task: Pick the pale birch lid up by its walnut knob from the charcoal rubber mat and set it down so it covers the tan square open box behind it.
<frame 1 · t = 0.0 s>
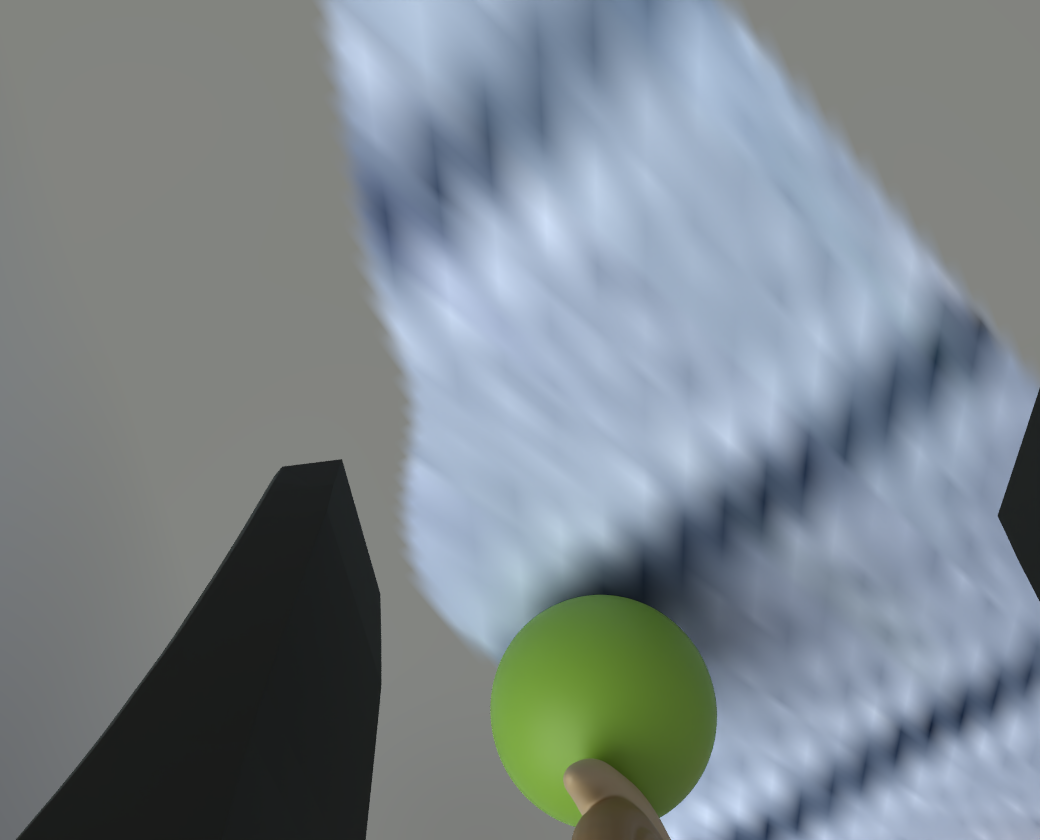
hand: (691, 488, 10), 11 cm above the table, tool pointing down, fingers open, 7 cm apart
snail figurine: (595, 639, 25), on the table
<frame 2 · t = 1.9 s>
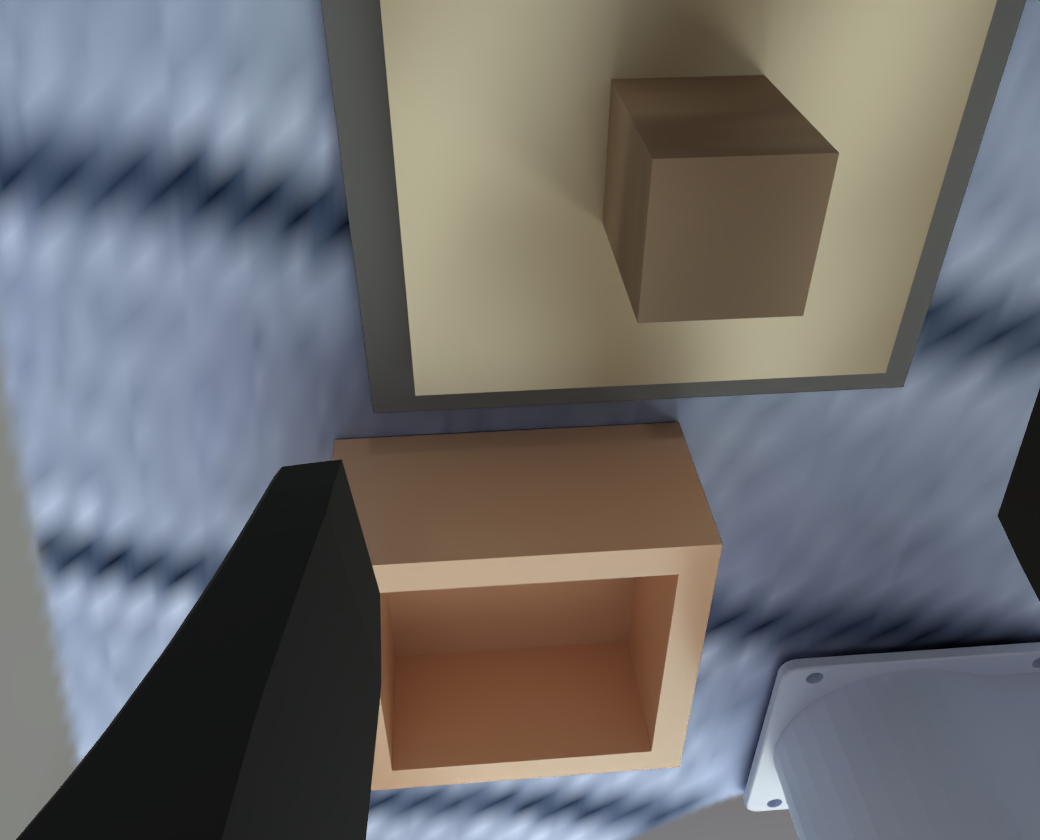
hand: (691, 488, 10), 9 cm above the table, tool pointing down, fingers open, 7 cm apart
lid: (670, 136, 16), resting on mat
mat: (665, 128, 17), on the table
tan square open box: (510, 551, 23), on the table
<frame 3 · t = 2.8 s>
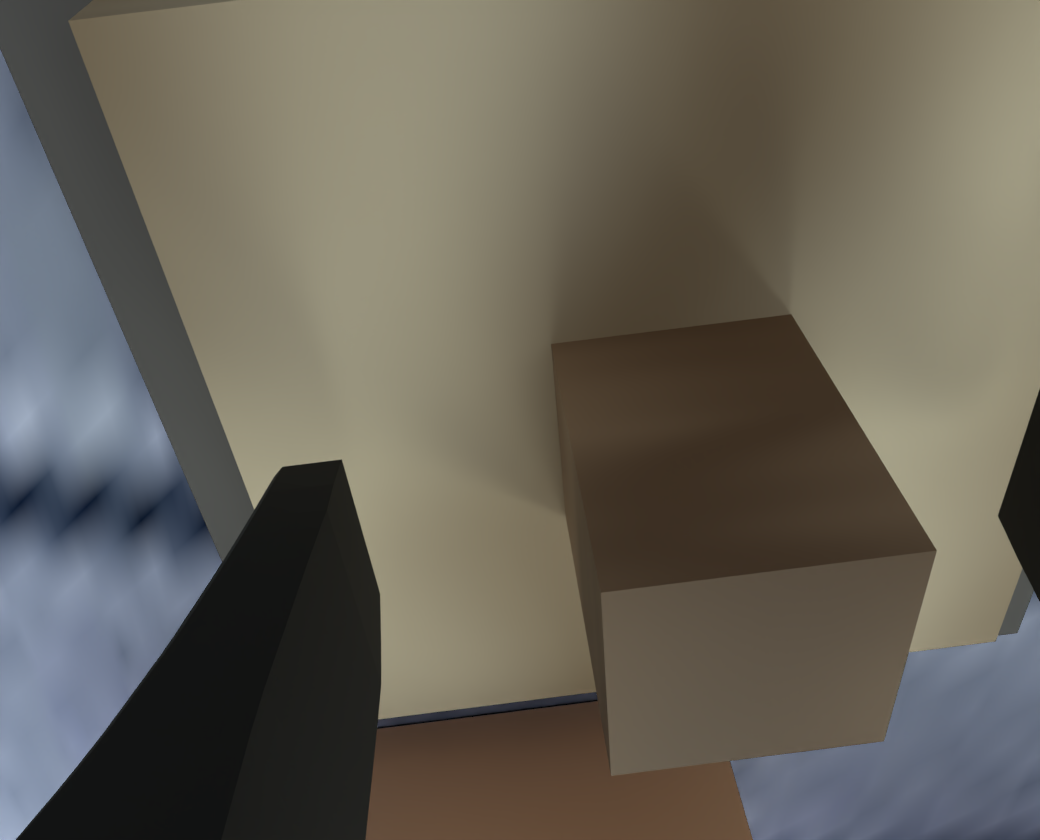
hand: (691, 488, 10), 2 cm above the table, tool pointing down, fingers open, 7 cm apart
lid: (656, 383, 11), resting on mat
mat: (649, 365, 11), on the table
tan square open box: (504, 830, 18), on the table
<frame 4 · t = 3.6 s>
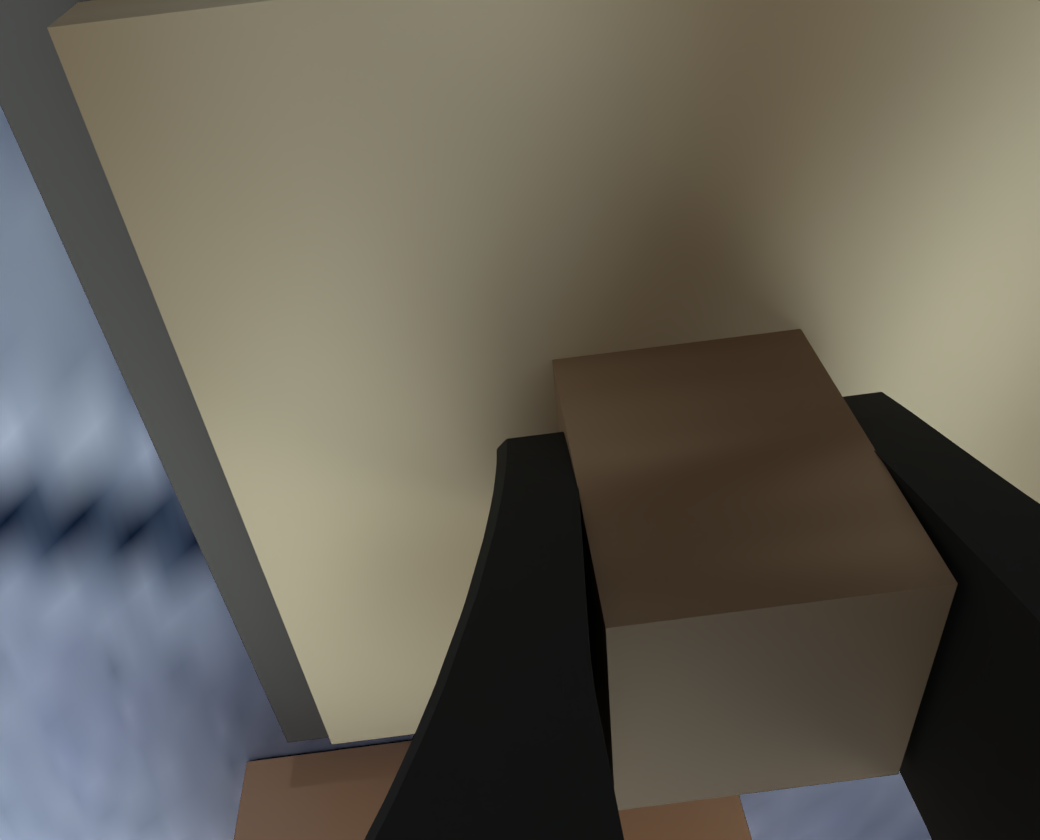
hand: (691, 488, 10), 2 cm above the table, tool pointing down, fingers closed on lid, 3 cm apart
lid: (660, 398, 11), resting on mat, touching gripper
mat: (653, 378, 11), on the table
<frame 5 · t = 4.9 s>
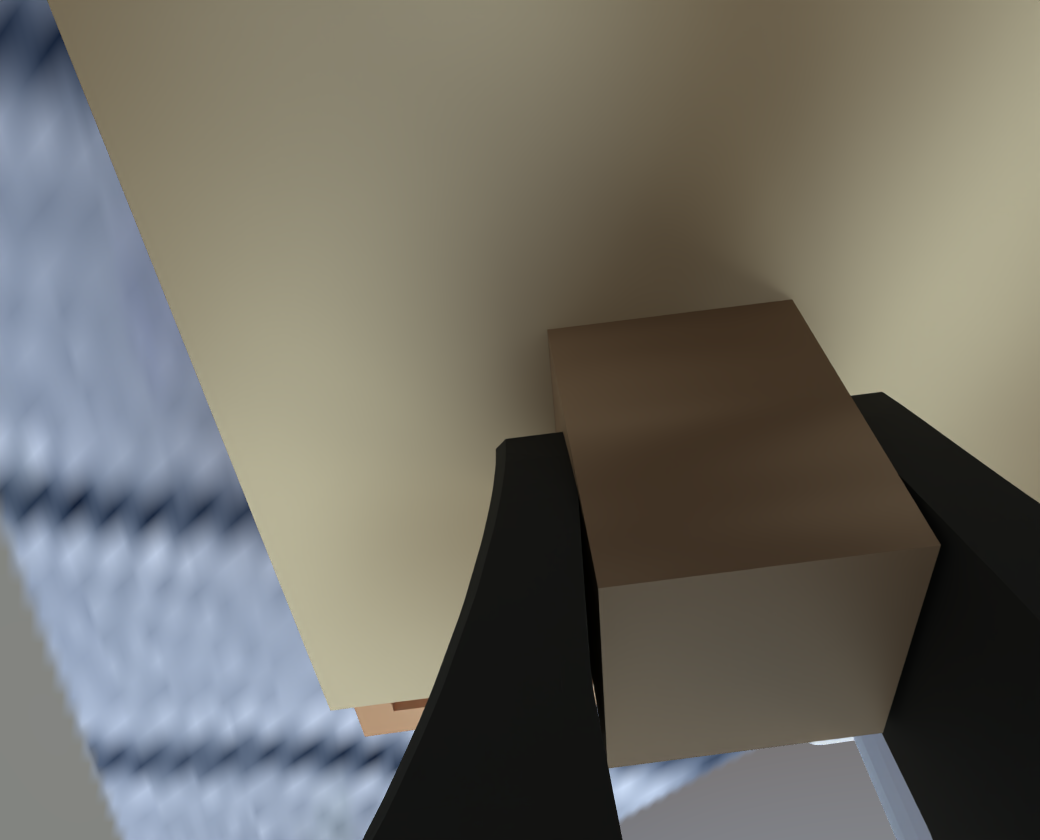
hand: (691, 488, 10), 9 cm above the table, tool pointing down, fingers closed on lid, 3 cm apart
lid: (653, 368, 11), point 7 cm above the table, touching gripper
tan square open box: (508, 463, 21), on the table
when the fingers open (7 cm above the table, at t = 6.4 s): lid stays where it is, resting on tan square open box.
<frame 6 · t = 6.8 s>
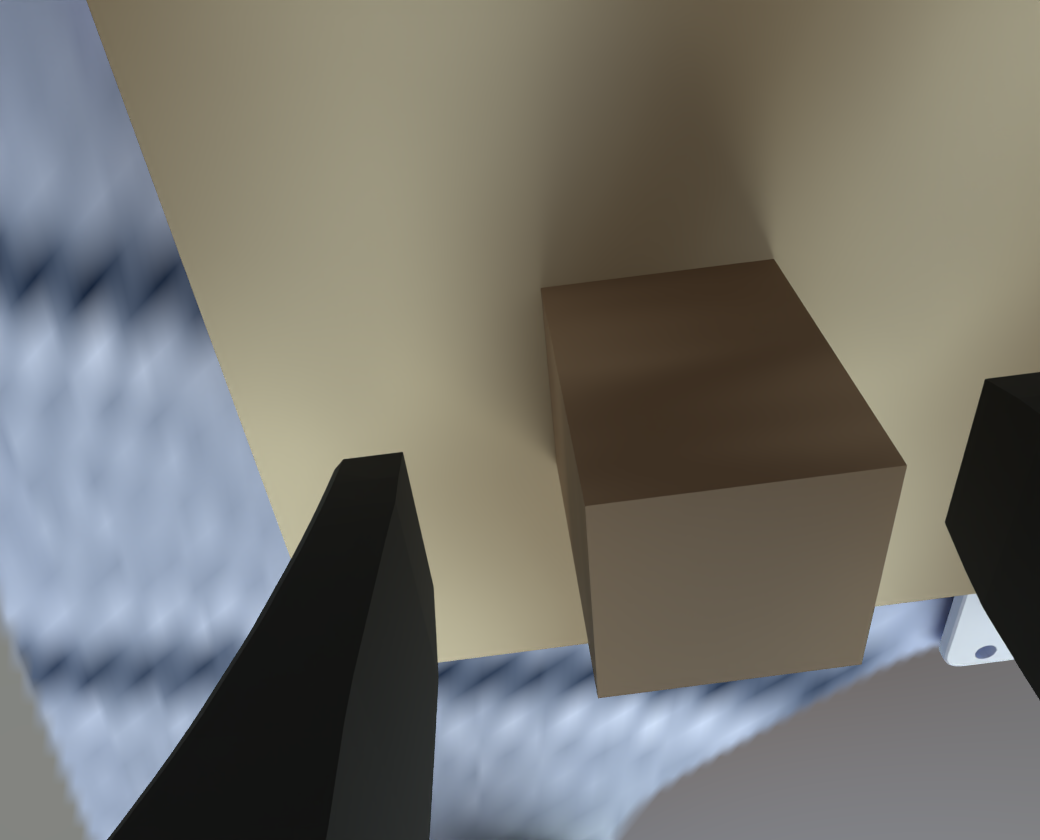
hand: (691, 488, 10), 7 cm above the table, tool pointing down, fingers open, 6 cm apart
lid: (644, 333, 11), point 4 cm above the table, touching tan square open box
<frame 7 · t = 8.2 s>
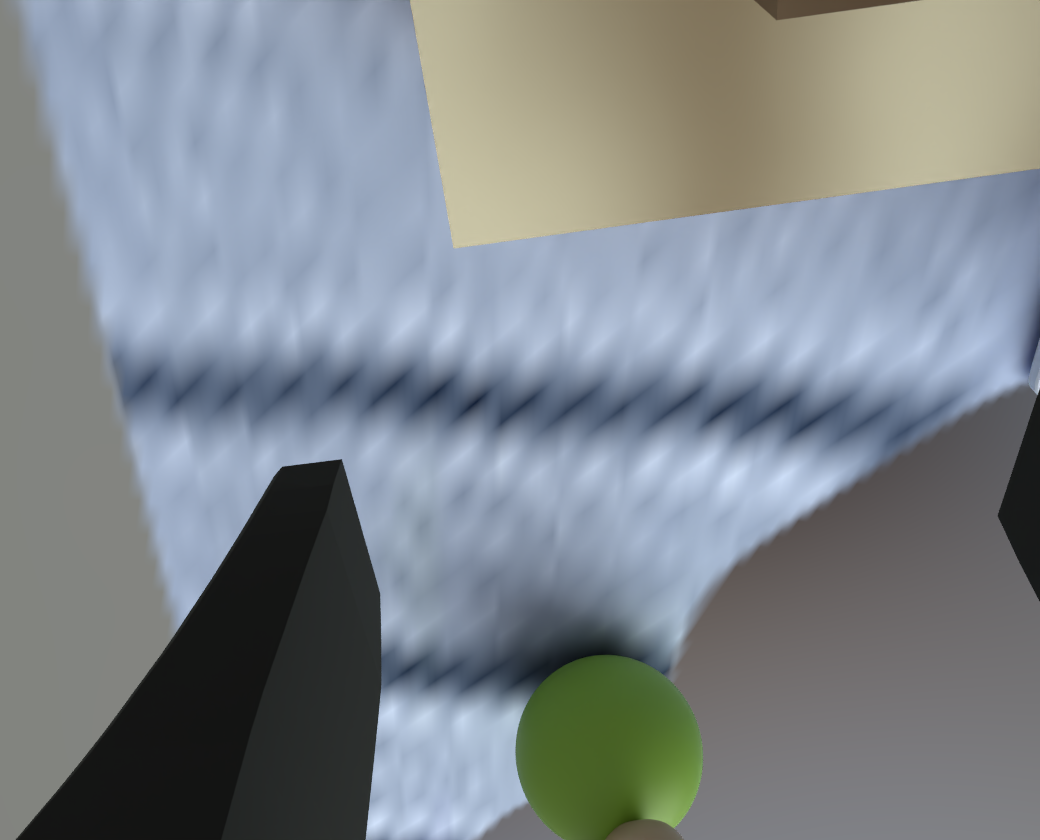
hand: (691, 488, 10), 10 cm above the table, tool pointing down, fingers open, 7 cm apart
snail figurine: (600, 658, 28), on the table
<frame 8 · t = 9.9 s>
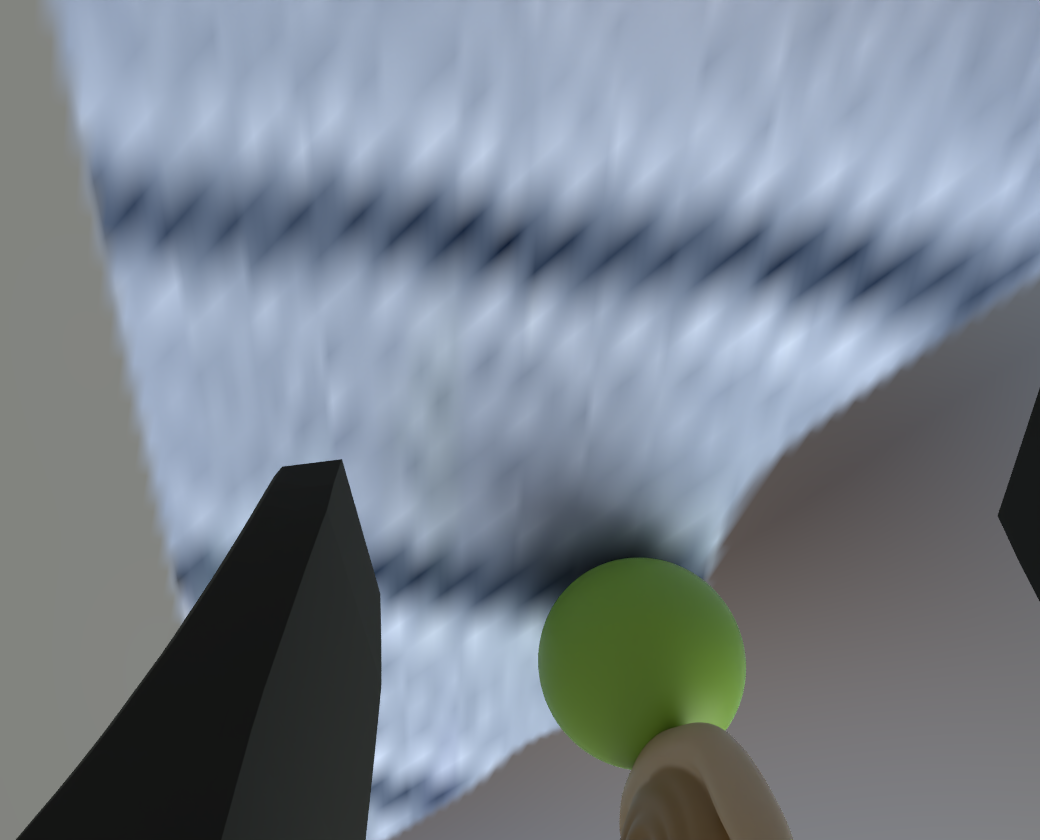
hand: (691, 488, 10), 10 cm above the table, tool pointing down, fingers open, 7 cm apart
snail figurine: (628, 567, 26), on the table
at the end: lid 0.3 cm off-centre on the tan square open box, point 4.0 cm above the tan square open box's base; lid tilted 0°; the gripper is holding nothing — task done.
